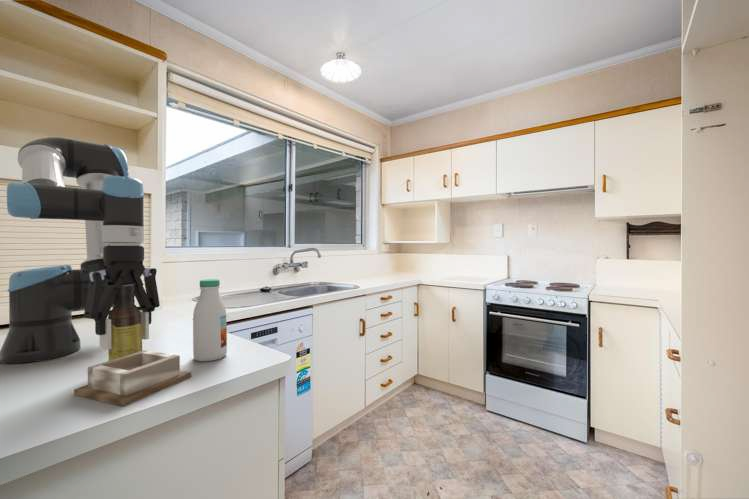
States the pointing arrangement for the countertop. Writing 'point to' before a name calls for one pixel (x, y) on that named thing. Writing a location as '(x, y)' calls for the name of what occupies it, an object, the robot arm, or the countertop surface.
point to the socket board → (132, 377)
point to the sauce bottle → (125, 324)
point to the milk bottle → (209, 323)
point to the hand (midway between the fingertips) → (125, 343)
